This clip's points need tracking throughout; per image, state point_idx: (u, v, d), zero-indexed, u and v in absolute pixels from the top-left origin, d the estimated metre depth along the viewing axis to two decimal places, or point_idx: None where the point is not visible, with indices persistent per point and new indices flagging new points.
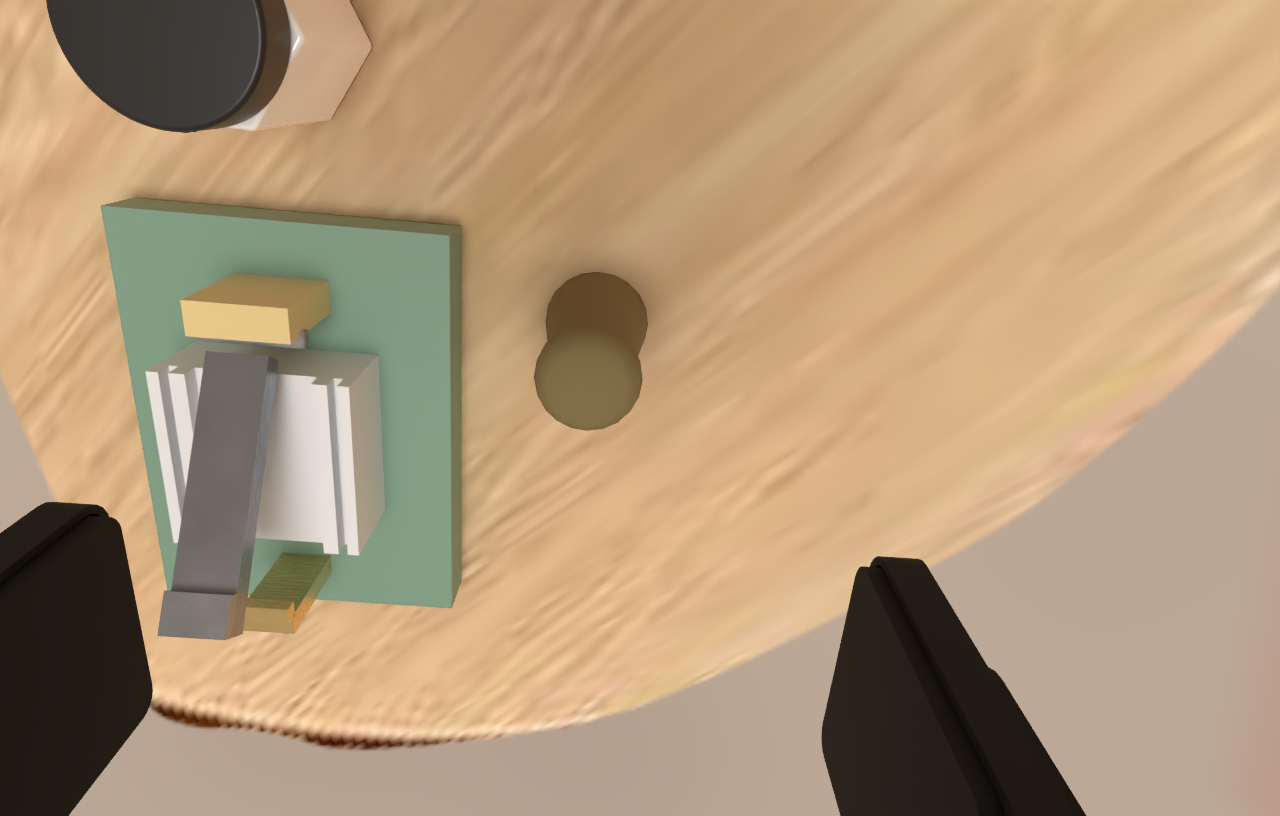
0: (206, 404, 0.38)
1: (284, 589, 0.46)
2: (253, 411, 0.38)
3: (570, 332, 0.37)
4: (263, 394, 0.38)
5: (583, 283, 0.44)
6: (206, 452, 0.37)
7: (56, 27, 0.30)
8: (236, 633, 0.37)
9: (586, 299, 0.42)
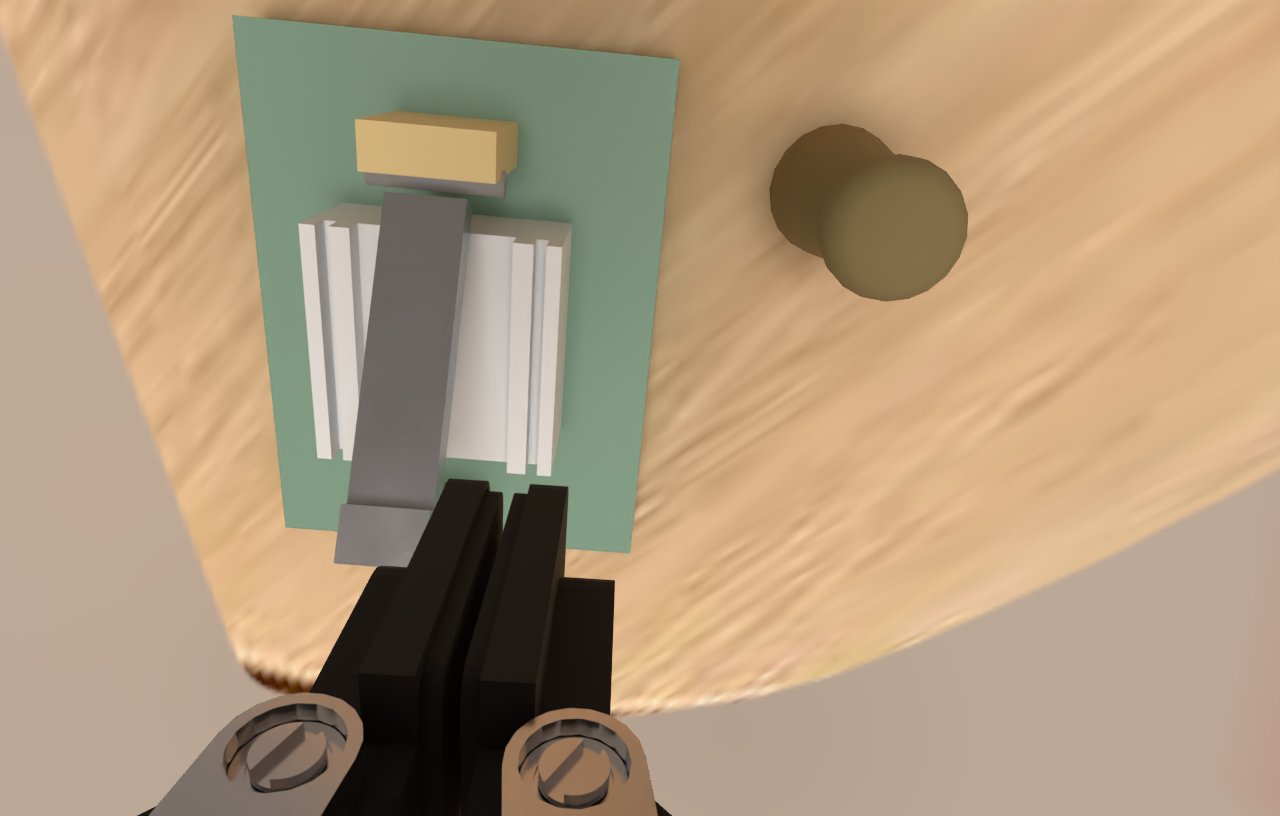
0: (386, 261, 0.28)
1: None
2: (448, 270, 0.28)
3: (882, 161, 0.27)
4: (461, 249, 0.29)
5: (833, 133, 0.35)
6: (388, 323, 0.28)
7: None
8: None
9: (853, 145, 0.33)
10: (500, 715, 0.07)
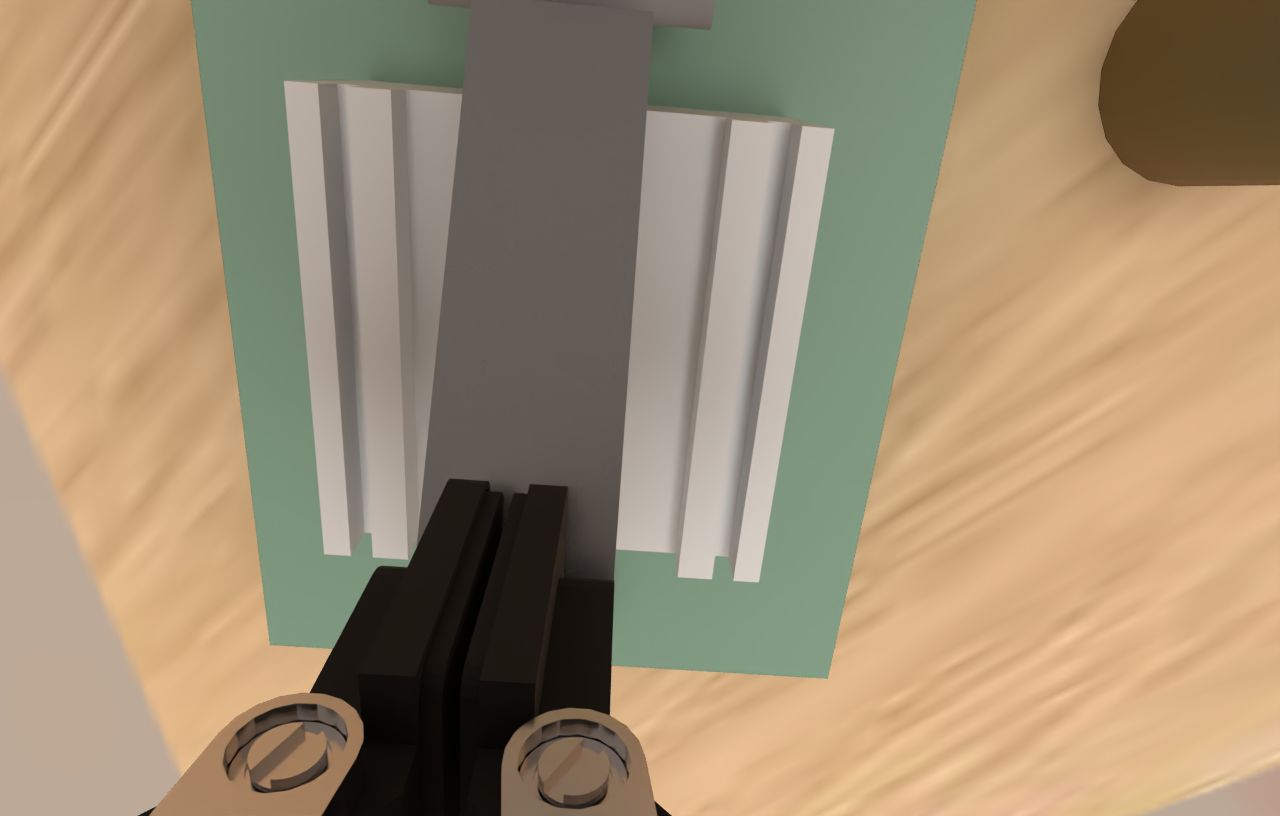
0: (482, 145, 0.13)
1: None
2: (620, 167, 0.13)
3: None
4: (644, 119, 0.13)
5: None
6: (489, 285, 0.12)
7: None
8: None
9: None
10: (500, 715, 0.07)
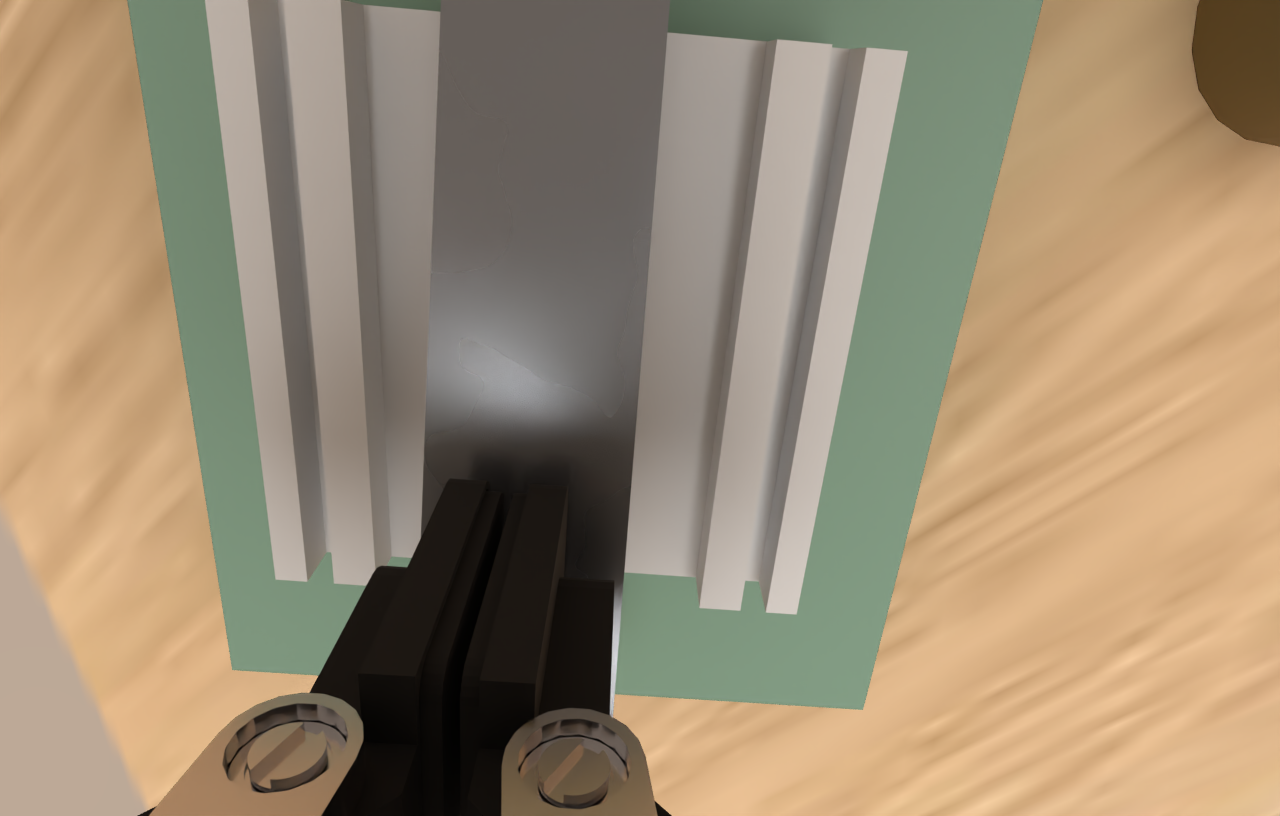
0: (466, 118, 0.11)
1: None
2: (631, 145, 0.11)
3: None
4: (662, 81, 0.11)
5: None
6: (481, 291, 0.11)
7: None
8: None
9: None
10: (500, 715, 0.07)
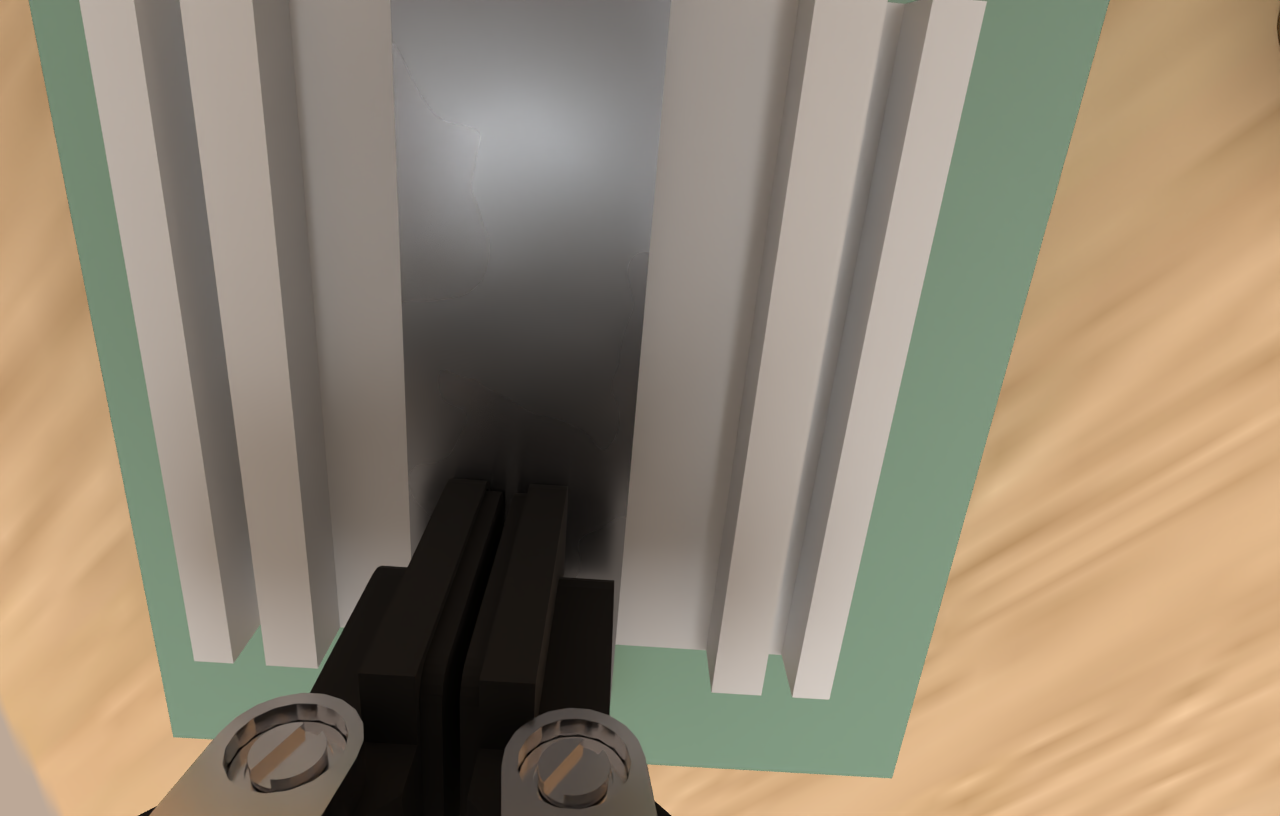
0: (430, 125, 0.09)
1: None
2: (626, 157, 0.09)
3: None
4: (662, 79, 0.09)
5: None
6: (459, 321, 0.10)
7: None
8: None
9: None
10: (499, 715, 0.07)
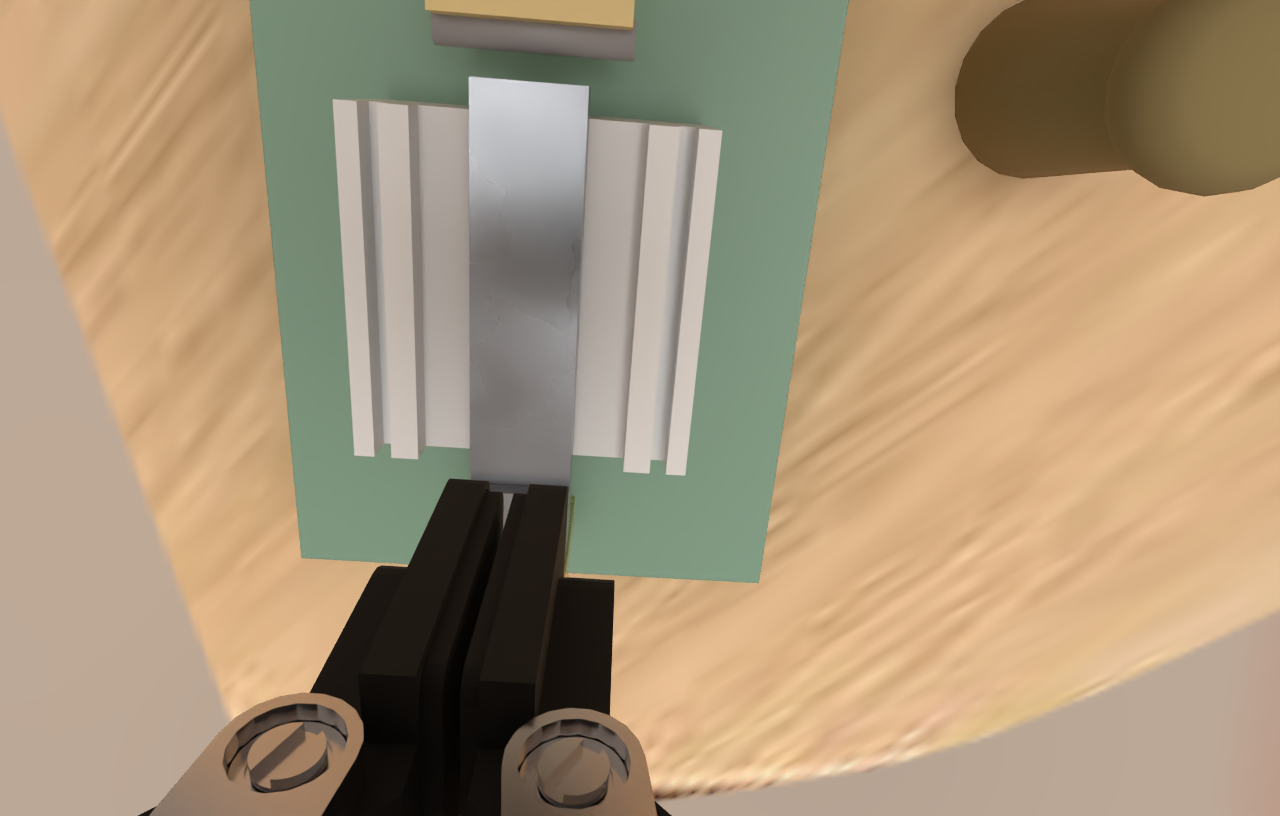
0: (484, 184, 0.21)
1: None
2: (569, 197, 0.21)
3: None
4: (584, 164, 0.20)
5: None
6: (495, 271, 0.21)
7: None
8: None
9: None
10: (499, 715, 0.07)
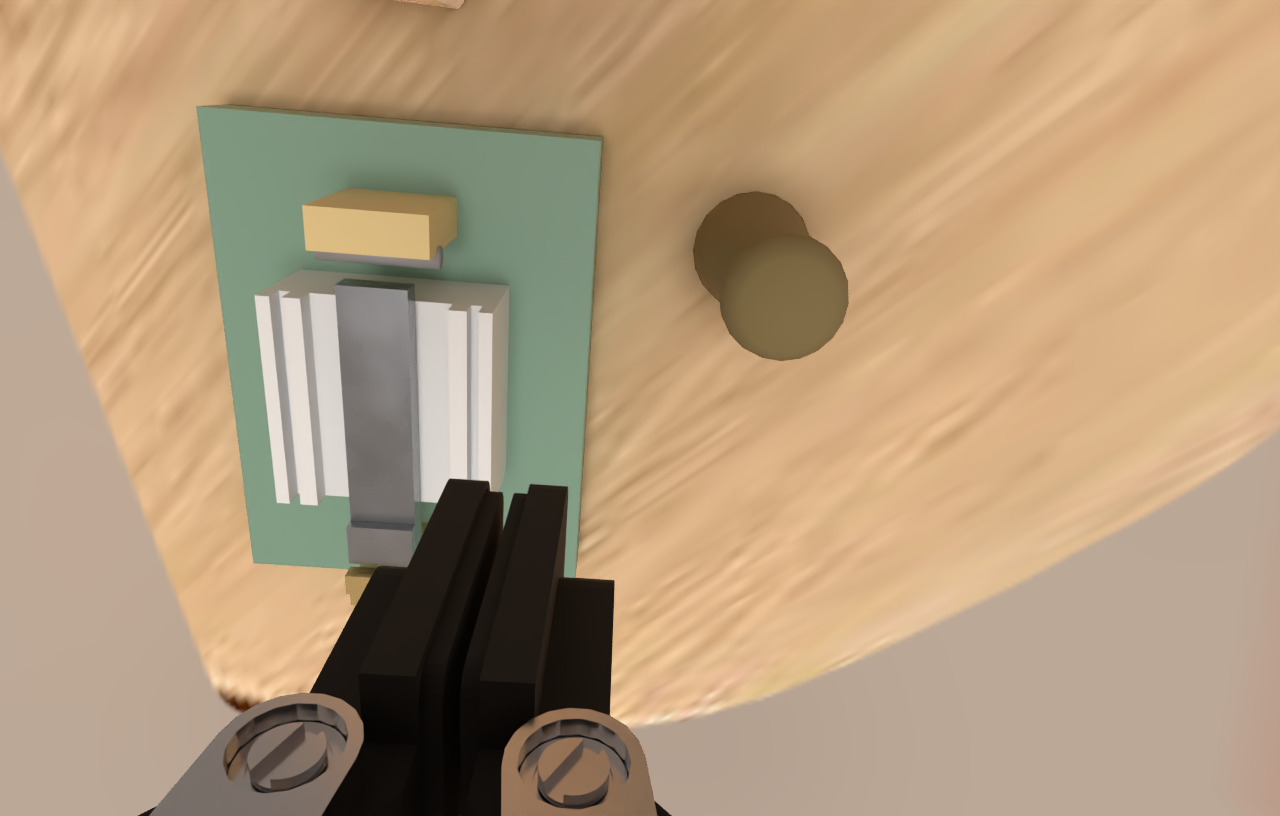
0: (348, 344, 0.34)
1: None
2: (400, 352, 0.34)
3: (770, 240, 0.31)
4: (408, 333, 0.34)
5: (745, 201, 0.38)
6: (358, 394, 0.35)
7: None
8: None
9: (758, 215, 0.36)
10: (500, 715, 0.07)
